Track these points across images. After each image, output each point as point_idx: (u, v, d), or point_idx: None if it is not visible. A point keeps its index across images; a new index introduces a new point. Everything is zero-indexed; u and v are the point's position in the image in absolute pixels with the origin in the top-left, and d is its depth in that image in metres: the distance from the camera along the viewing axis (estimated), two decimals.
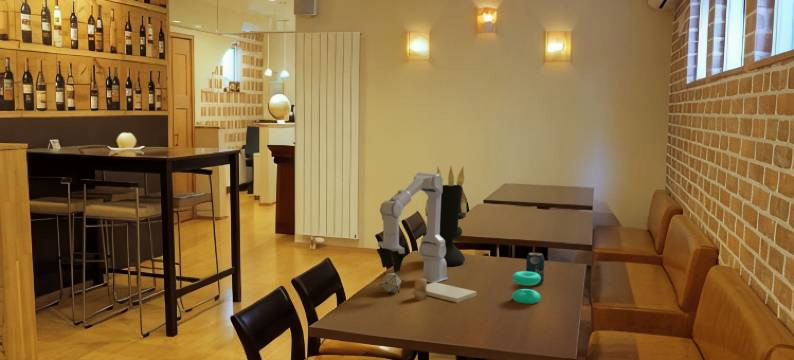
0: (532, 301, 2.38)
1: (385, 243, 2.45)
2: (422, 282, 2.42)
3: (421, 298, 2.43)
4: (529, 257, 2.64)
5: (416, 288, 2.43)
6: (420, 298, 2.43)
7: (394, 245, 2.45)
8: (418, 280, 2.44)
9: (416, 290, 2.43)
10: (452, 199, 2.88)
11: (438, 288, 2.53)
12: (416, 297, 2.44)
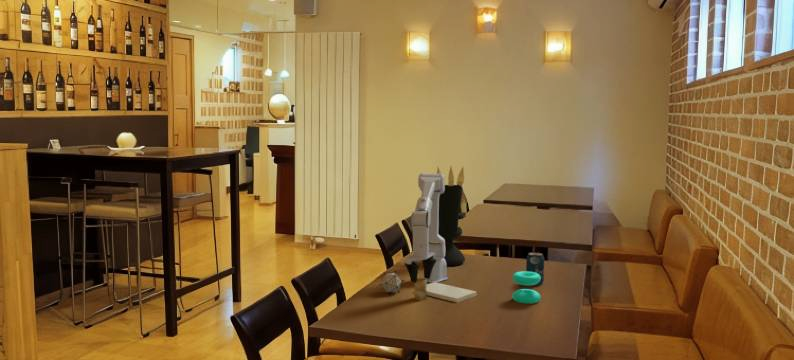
0: (532, 301, 2.38)
1: None
2: (422, 282, 2.42)
3: (421, 298, 2.43)
4: (529, 257, 2.64)
5: (416, 288, 2.43)
6: (420, 298, 2.43)
7: (414, 255, 2.42)
8: (418, 280, 2.44)
9: (416, 290, 2.43)
10: (452, 199, 2.88)
11: (438, 288, 2.53)
12: (416, 297, 2.44)
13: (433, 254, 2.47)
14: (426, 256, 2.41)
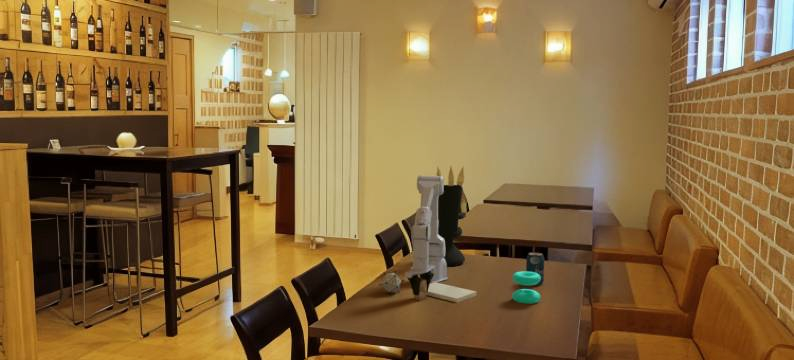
0: (532, 301, 2.38)
1: None
2: (422, 282, 2.42)
3: (421, 298, 2.43)
4: (529, 257, 2.64)
5: None
6: (420, 298, 2.43)
7: (414, 269, 2.42)
8: None
9: None
10: (452, 199, 2.88)
11: (438, 288, 2.53)
12: (416, 297, 2.44)
13: (433, 267, 2.48)
14: (426, 270, 2.42)
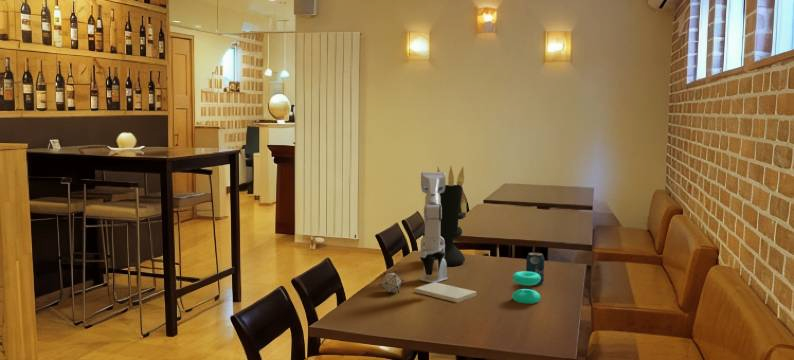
0: (532, 301, 2.38)
1: None
2: (435, 262, 2.45)
3: (434, 277, 2.45)
4: (529, 257, 2.64)
5: None
6: (433, 277, 2.45)
7: (427, 249, 2.44)
8: None
9: None
10: (452, 199, 2.88)
11: (438, 288, 2.53)
12: (429, 277, 2.46)
13: (443, 247, 2.51)
14: (439, 249, 2.44)
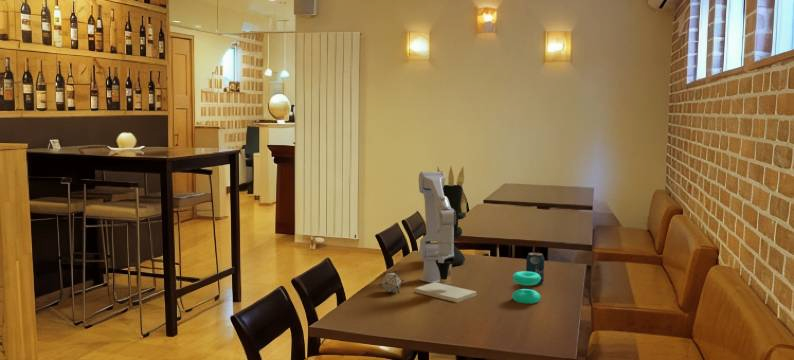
0: (532, 301, 2.38)
1: (438, 250, 2.50)
2: (449, 266, 2.49)
3: (449, 282, 2.49)
4: (529, 257, 2.64)
5: None
6: (448, 282, 2.49)
7: (442, 254, 2.47)
8: None
9: None
10: (452, 199, 2.88)
11: (438, 288, 2.53)
12: (444, 281, 2.49)
13: None
14: (453, 254, 2.49)
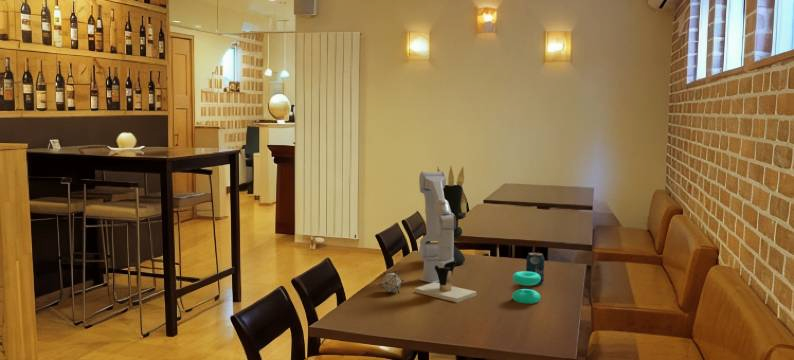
0: (532, 301, 2.38)
1: (438, 255, 2.50)
2: (449, 273, 2.49)
3: (448, 289, 2.49)
4: (529, 257, 2.64)
5: None
6: (448, 289, 2.49)
7: (442, 259, 2.47)
8: None
9: None
10: (452, 199, 2.88)
11: (438, 288, 2.53)
12: (443, 289, 2.49)
13: None
14: (453, 258, 2.49)
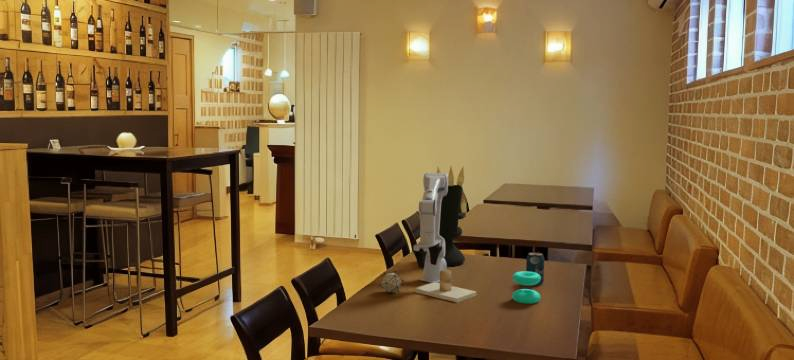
0: (532, 301, 2.38)
1: None
2: (449, 273, 2.49)
3: (448, 289, 2.49)
4: (529, 257, 2.64)
5: (444, 280, 2.49)
6: (448, 289, 2.49)
7: (422, 242, 2.52)
8: (444, 272, 2.49)
9: (444, 282, 2.49)
10: (452, 199, 2.88)
11: (438, 288, 2.53)
12: (443, 289, 2.49)
13: (439, 241, 2.58)
14: (433, 243, 2.52)
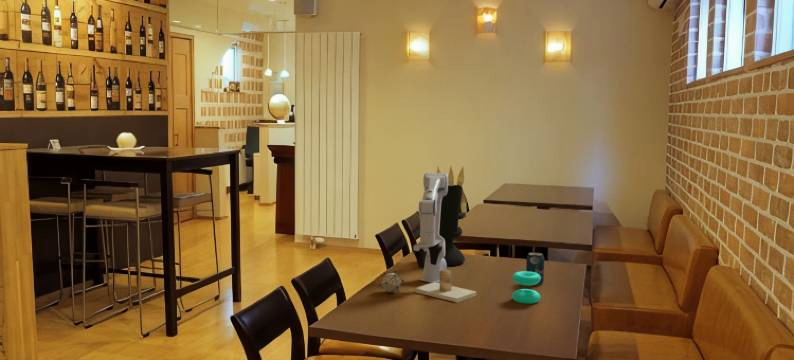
0: (532, 301, 2.38)
1: None
2: (449, 273, 2.49)
3: (448, 289, 2.49)
4: (529, 257, 2.64)
5: (443, 280, 2.49)
6: (448, 289, 2.49)
7: (422, 242, 2.52)
8: (444, 272, 2.50)
9: (443, 282, 2.49)
10: (452, 199, 2.88)
11: (438, 288, 2.53)
12: (443, 289, 2.49)
13: (439, 241, 2.58)
14: (433, 243, 2.52)
